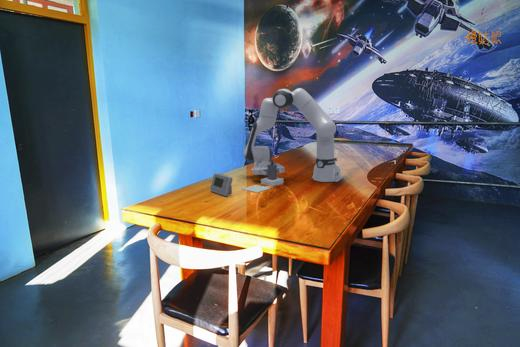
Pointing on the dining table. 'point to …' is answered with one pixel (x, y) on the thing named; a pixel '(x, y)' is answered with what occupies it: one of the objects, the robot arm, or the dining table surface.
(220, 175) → the digital clock
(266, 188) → the mat
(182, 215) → the dining table surface
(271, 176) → the plug
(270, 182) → the socket block
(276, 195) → the dining table surface
